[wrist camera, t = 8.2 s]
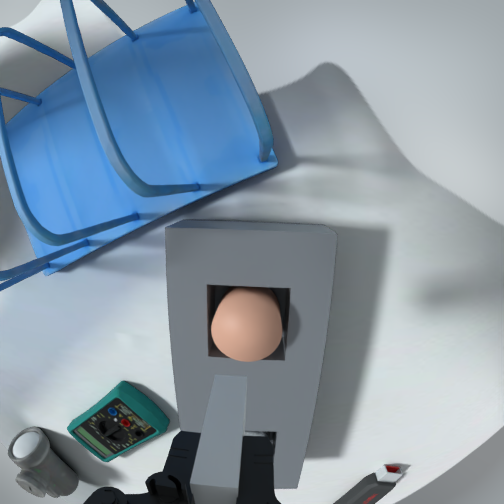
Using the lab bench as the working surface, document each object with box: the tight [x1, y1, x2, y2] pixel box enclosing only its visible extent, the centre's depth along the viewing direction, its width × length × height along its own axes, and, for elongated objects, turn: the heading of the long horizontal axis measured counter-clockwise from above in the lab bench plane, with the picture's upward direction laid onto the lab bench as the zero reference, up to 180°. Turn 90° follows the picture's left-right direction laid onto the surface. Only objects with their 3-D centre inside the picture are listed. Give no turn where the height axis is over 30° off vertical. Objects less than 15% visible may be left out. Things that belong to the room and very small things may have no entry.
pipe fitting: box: [8, 427, 79, 498], centre depth 31 cm, size 12×8×10 cm
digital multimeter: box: [67, 381, 170, 462], centre depth 31 cm, size 7×15×3 cm, turn 132°
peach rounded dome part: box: [211, 286, 282, 362], centre depth 24 cm, size 5×5×4 cm
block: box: [165, 220, 338, 489], centre depth 27 cm, size 28×12×5 cm, turn 178°
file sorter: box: [0, 0, 278, 291], centre depth 18 cm, size 25×17×15 cm
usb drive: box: [333, 465, 403, 504], centre depth 33 cm, size 5×12×3 cm, turn 154°
